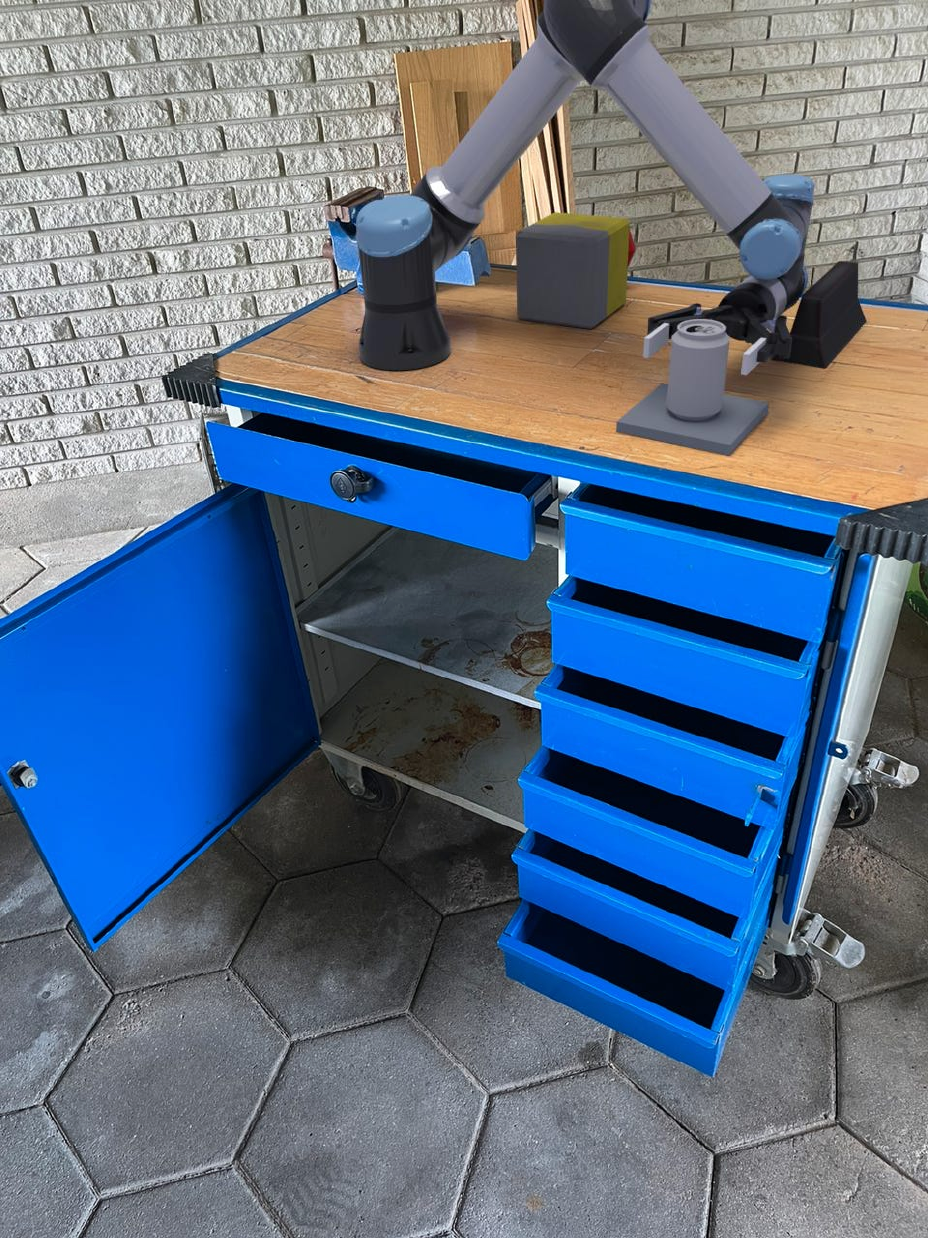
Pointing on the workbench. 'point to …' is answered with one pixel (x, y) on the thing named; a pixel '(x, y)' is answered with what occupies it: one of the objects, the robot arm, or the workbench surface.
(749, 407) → the slate board
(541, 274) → the emergency stop button
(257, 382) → the workbench surface
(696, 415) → the can
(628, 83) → the robot arm
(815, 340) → the barrier
